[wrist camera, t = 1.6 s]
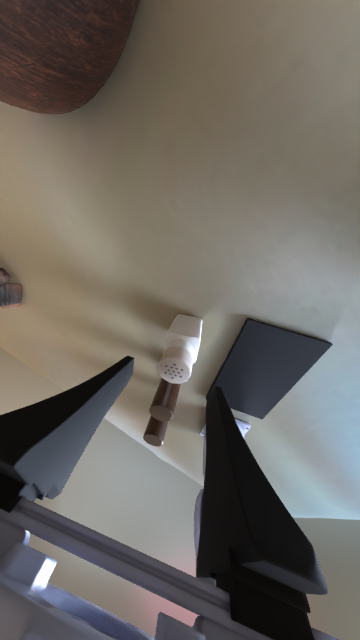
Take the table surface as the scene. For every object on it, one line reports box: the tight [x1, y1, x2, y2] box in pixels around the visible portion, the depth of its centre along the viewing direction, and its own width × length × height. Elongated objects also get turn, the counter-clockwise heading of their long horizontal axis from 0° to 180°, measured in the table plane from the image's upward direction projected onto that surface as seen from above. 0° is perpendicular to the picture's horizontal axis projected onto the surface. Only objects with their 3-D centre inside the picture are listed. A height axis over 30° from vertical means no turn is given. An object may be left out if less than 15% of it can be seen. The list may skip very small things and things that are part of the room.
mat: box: [206, 318, 333, 419], centre depth 21 cm, size 18×11×1 cm, turn 167°
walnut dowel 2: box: [143, 415, 168, 446], centre depth 23 cm, size 3×3×9 cm
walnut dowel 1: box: [149, 378, 180, 421], centre depth 20 cm, size 3×3×9 cm
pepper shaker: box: [157, 314, 202, 384], centre depth 16 cm, size 4×4×10 cm
